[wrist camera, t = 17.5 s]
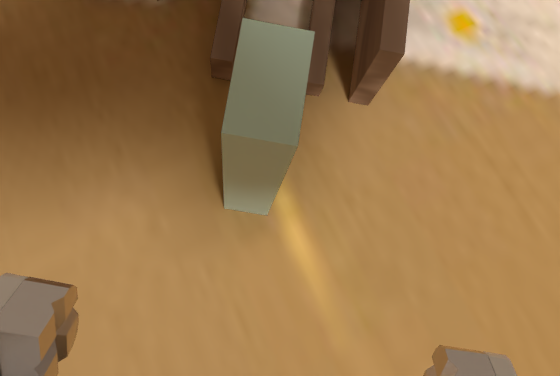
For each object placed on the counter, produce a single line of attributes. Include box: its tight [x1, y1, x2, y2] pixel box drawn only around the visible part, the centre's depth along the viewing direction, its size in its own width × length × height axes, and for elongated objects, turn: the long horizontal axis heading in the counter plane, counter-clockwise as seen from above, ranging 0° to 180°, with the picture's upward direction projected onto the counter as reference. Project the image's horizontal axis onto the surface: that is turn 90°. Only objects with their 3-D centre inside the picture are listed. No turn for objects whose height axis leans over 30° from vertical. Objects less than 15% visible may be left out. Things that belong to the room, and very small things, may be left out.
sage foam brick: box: [221, 18, 315, 215], centre depth 28 cm, size 3×5×16 cm, turn 171°
